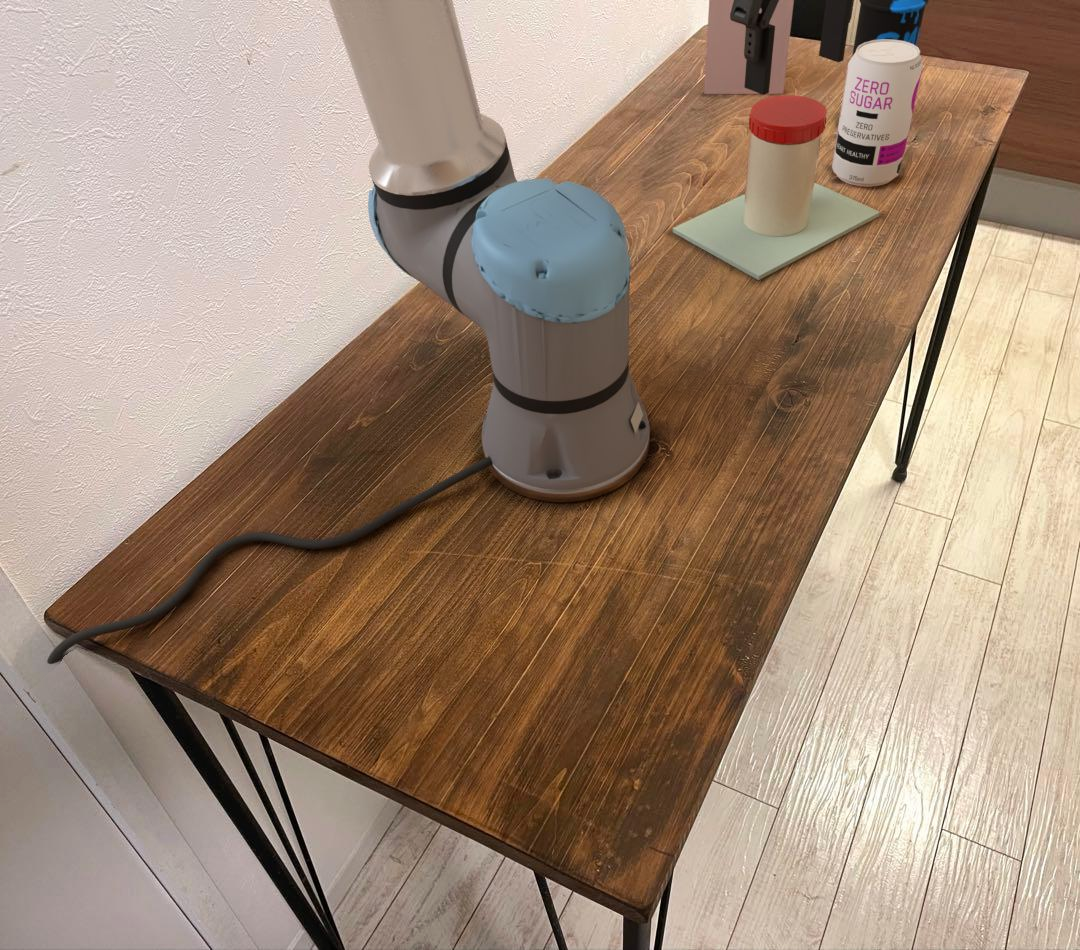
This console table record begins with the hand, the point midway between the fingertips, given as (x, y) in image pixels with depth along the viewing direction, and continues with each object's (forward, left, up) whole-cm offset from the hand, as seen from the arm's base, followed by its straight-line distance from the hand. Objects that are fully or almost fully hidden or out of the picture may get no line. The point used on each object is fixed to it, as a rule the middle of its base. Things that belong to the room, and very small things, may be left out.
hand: (794, 73), depth 96 cm
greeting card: (+24, +30, -18) cm, 42 cm away
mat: (0, 0, -18) cm, 18 cm away
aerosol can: (+29, +10, -18) cm, 35 cm away
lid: (0, 0, -4) cm, 4 cm away
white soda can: (+17, +1, -18) cm, 24 cm away
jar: (0, 0, -17) cm, 17 cm away
